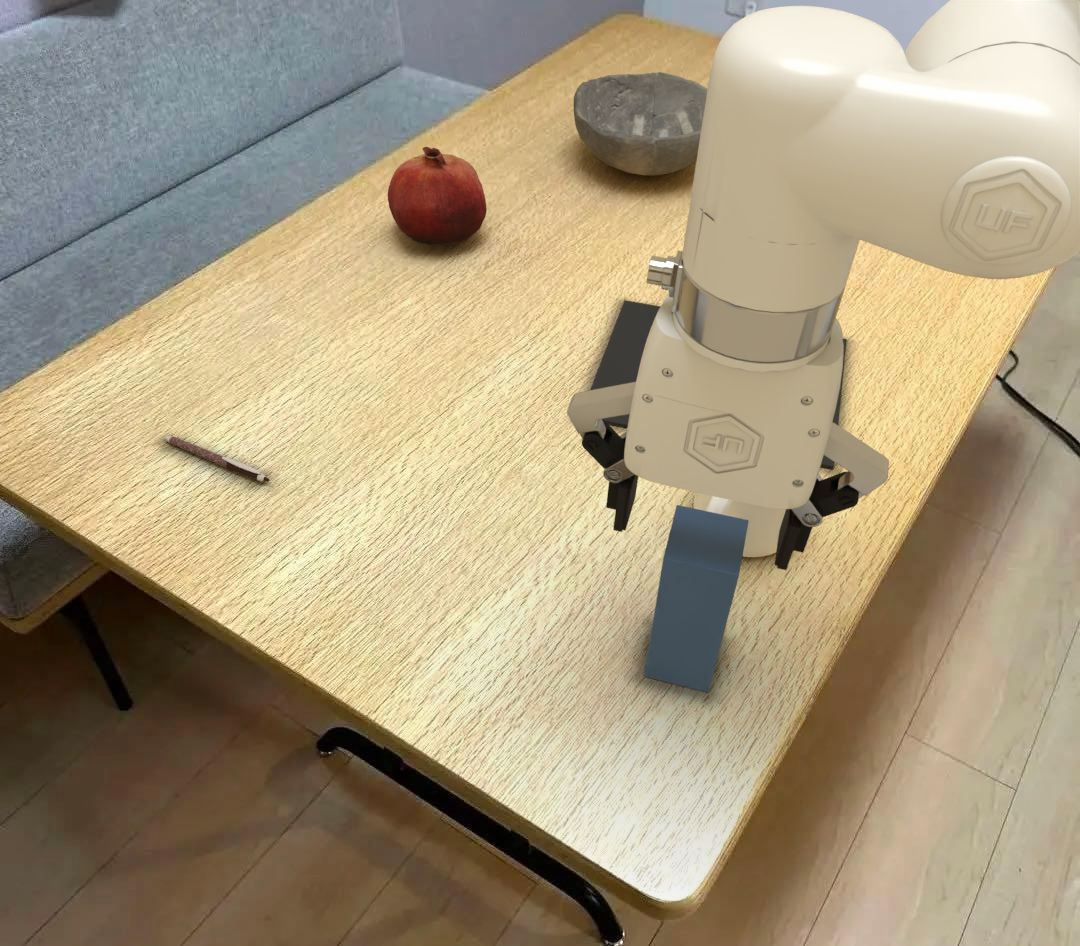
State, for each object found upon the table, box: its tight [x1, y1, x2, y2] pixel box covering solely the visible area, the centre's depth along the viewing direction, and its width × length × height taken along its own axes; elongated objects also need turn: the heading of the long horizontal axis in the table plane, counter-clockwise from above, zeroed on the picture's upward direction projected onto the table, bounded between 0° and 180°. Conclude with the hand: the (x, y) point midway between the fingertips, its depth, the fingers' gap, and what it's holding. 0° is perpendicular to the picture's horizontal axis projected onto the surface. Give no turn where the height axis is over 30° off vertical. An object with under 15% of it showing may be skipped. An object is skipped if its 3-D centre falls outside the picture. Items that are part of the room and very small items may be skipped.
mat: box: [589, 299, 848, 470], centre depth 87 cm, size 22×18×1 cm
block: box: [643, 504, 749, 693], centre depth 62 cm, size 4×4×13 cm
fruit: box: [387, 146, 488, 246], centre depth 100 cm, size 11×10×10 cm
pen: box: [162, 435, 270, 482], centre depth 79 cm, size 11×1×1 cm, turn 63°
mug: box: [693, 492, 786, 558], centre depth 71 cm, size 12×8×10 cm
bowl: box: [573, 71, 708, 176], centre depth 113 cm, size 18×18×8 cm
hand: (702, 532), depth 57 cm, fingers open, 9 cm apart
